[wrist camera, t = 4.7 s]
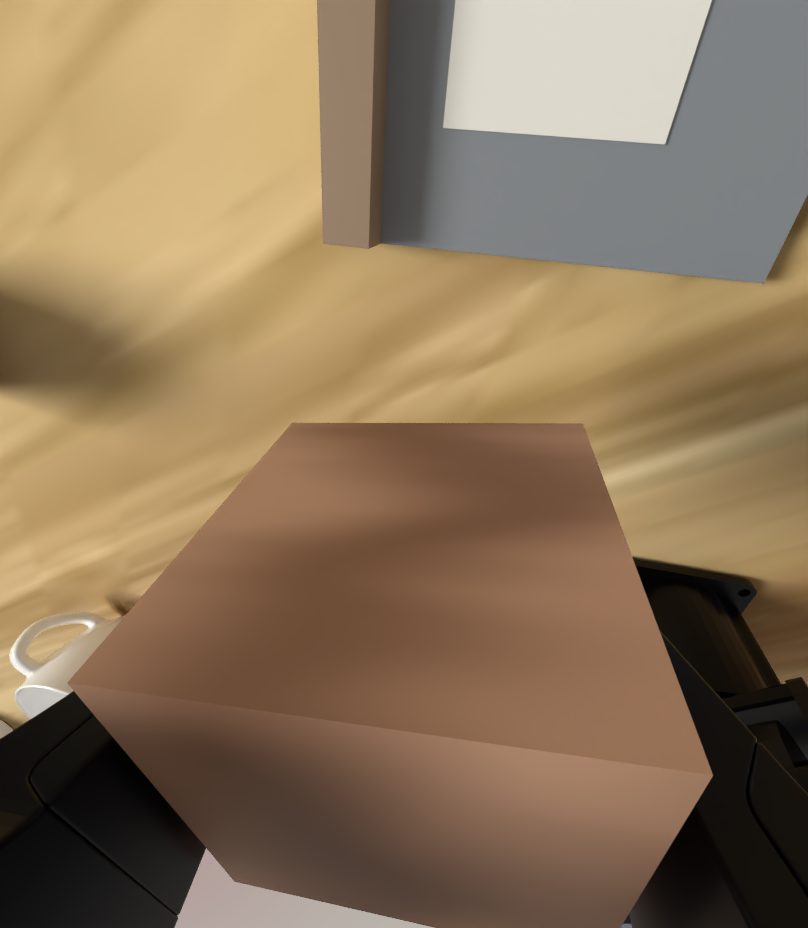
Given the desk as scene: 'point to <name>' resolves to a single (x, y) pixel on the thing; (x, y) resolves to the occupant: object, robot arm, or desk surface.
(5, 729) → the tall pillar cylinder
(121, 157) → the desk surface
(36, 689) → the cup
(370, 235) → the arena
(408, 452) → the cube
